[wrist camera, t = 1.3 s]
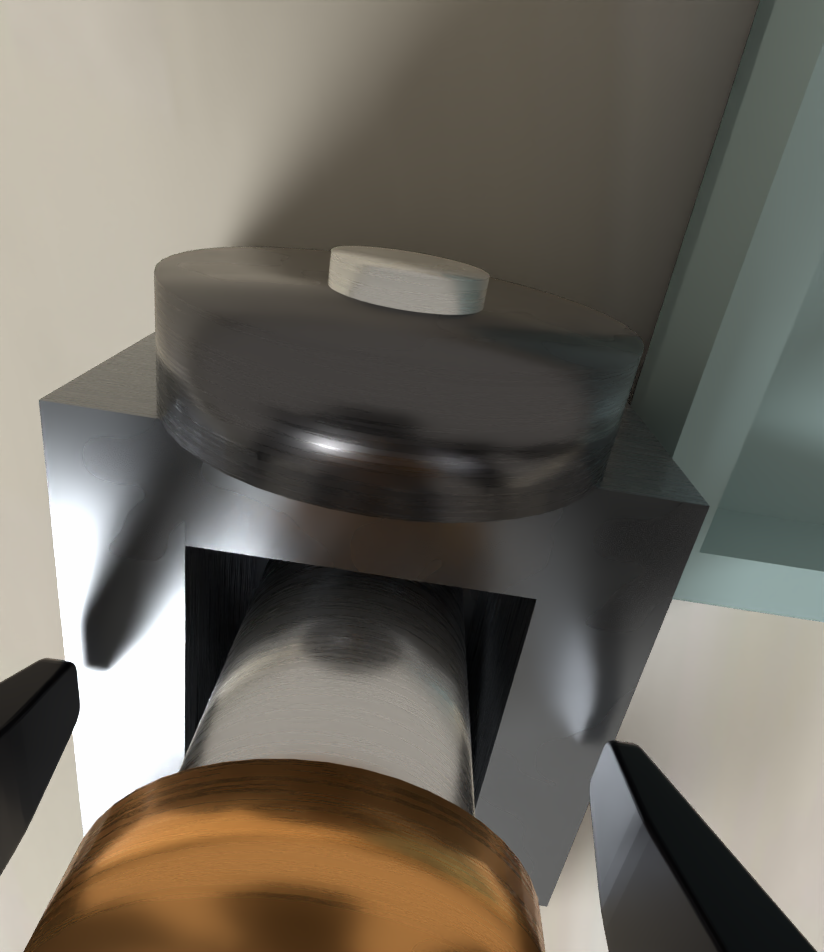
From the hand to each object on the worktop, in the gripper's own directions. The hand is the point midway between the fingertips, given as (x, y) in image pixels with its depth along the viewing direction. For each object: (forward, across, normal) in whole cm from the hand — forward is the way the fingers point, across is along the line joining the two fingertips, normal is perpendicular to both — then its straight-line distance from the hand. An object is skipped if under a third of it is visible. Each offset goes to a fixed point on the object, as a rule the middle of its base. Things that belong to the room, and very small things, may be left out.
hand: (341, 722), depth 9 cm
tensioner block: (+5, 0, -1) cm, 5 cm away
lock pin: (+4, 0, 0) cm, 4 cm away
